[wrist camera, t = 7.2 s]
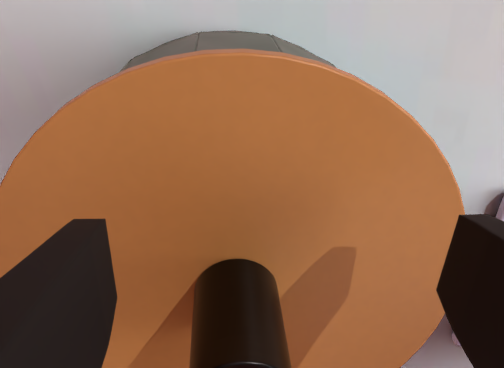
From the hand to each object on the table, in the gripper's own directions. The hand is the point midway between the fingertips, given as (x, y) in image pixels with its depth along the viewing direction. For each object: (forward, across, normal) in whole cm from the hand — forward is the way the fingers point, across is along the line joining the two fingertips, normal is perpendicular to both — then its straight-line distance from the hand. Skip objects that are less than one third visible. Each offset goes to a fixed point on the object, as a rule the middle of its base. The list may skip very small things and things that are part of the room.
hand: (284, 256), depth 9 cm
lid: (+3, +1, +3) cm, 4 cm away
